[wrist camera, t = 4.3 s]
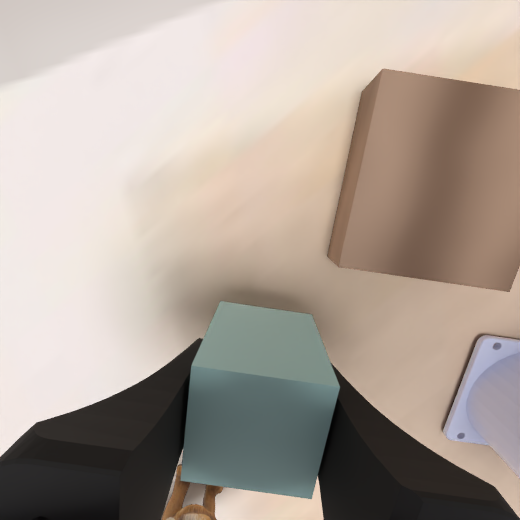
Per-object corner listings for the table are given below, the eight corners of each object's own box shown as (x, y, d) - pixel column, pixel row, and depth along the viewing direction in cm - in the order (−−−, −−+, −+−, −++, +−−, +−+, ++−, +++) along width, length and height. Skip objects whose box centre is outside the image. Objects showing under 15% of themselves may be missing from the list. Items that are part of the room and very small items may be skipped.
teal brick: (311, 314, 13) (339, 386, 8) (295, 392, 14) (311, 499, 9) (220, 301, 13) (191, 365, 8) (211, 380, 14) (180, 480, 9)
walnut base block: (528, 117, 14) (585, 100, 11) (472, 277, 16) (509, 291, 13) (362, 91, 14) (383, 68, 11) (327, 256, 16) (338, 266, 13)
